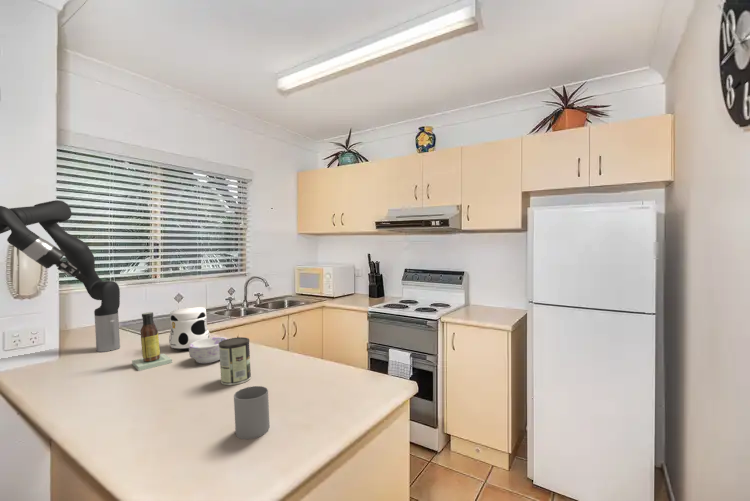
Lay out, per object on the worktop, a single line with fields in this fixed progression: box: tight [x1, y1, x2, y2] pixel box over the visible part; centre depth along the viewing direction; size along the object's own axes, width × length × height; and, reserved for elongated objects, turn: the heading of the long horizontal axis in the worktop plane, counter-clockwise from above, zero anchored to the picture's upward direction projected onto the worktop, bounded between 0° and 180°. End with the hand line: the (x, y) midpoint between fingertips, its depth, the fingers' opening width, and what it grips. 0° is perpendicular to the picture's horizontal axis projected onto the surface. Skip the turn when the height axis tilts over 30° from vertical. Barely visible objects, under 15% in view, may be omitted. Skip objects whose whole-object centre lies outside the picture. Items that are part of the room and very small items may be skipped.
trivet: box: [131, 353, 173, 372], centre depth 150 cm, size 12×12×2 cm
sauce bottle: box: [140, 311, 161, 362], centre depth 150 cm, size 6×6×20 cm
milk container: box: [168, 306, 210, 351], centre depth 173 cm, size 17×17×18 cm
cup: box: [233, 385, 271, 440], centre depth 93 cm, size 8×8×10 cm
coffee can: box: [219, 337, 252, 386], centre depth 129 cm, size 10×10×14 cm
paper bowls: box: [188, 336, 228, 364], centre depth 152 cm, size 15×15×8 cm
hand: (86, 280), depth 138 cm, fingers open, 8 cm apart
